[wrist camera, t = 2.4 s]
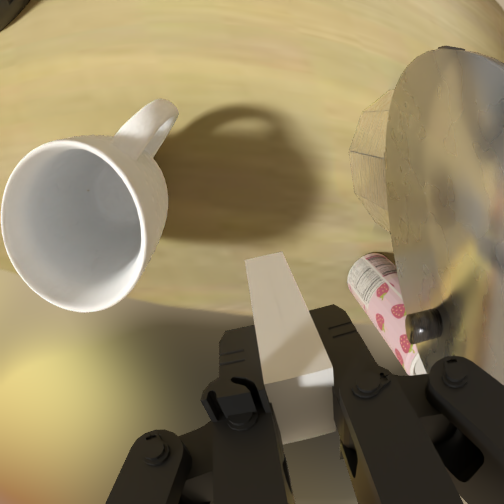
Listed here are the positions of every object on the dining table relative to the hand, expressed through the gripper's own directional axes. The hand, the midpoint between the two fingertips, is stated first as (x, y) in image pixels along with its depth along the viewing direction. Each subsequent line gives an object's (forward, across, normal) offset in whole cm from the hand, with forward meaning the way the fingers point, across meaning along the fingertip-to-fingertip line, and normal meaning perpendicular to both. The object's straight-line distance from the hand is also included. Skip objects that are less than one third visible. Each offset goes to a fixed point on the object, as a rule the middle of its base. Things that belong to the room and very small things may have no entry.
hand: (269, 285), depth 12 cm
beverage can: (+18, +12, -12) cm, 24 cm away
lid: (-2, +9, 0) cm, 9 cm away
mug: (+18, -10, +4) cm, 21 cm away
